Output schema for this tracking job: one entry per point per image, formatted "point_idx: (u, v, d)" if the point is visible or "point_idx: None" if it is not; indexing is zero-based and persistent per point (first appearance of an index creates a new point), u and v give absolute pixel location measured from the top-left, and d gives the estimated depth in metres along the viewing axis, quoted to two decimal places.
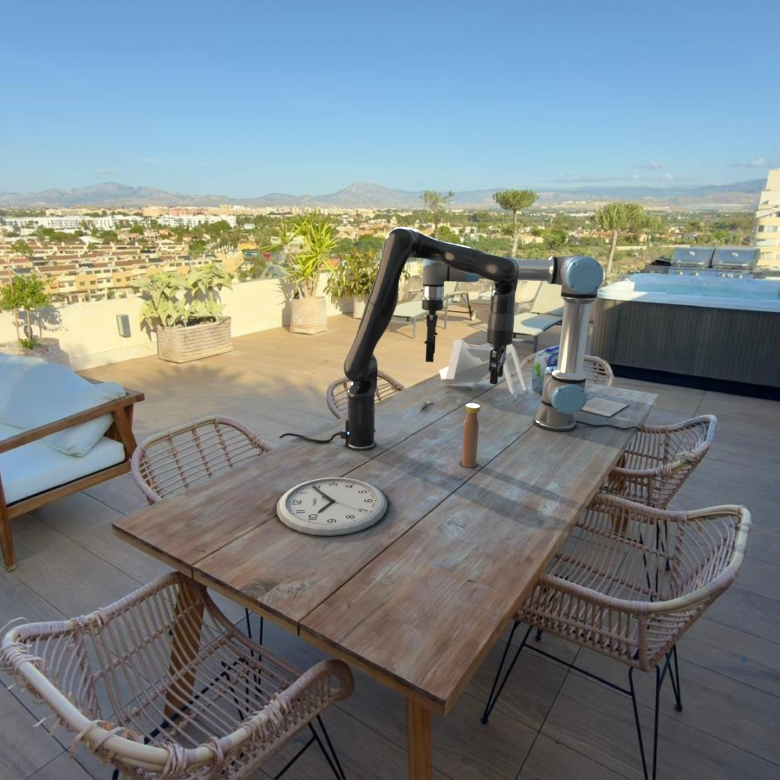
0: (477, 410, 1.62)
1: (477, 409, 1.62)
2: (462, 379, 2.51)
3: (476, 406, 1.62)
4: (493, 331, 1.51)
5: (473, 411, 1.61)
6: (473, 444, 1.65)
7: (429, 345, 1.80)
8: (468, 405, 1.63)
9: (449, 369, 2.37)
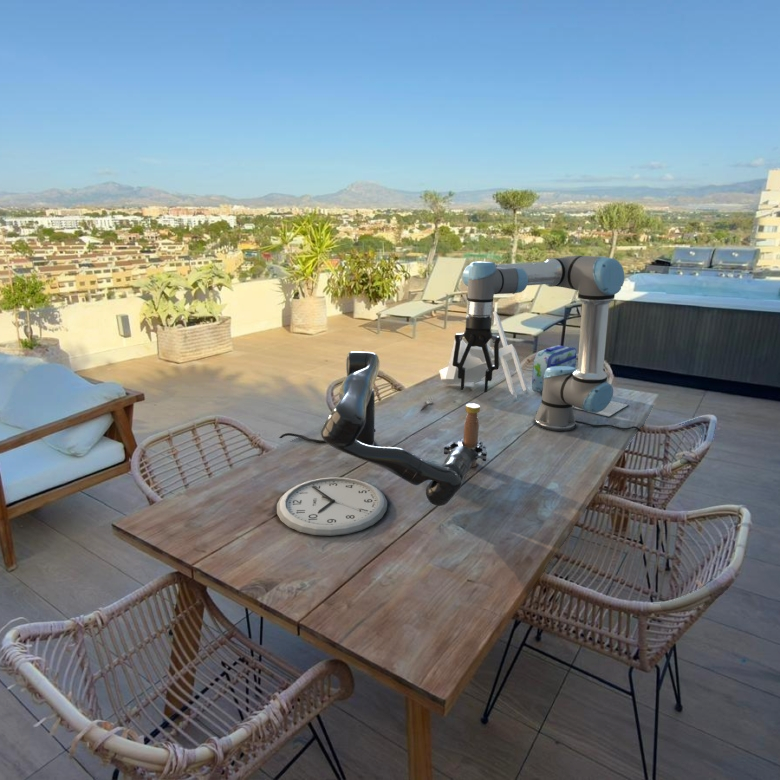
0: (477, 410, 1.62)
1: (477, 409, 1.62)
2: None
3: (476, 406, 1.62)
4: None
5: (473, 411, 1.61)
6: (473, 444, 1.65)
7: None
8: (468, 405, 1.63)
9: (449, 369, 2.37)
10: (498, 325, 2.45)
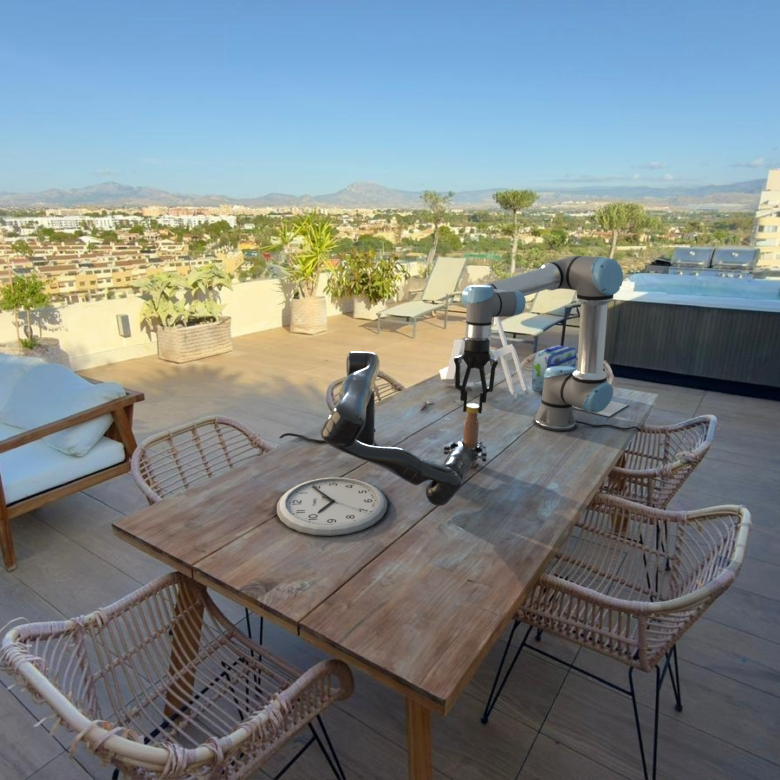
0: (477, 410, 1.62)
1: (477, 409, 1.62)
2: (462, 379, 2.51)
3: (476, 406, 1.62)
4: None
5: (473, 411, 1.61)
6: (473, 444, 1.65)
7: (461, 391, 1.63)
8: (468, 405, 1.63)
9: (449, 369, 2.37)
10: (498, 325, 2.45)
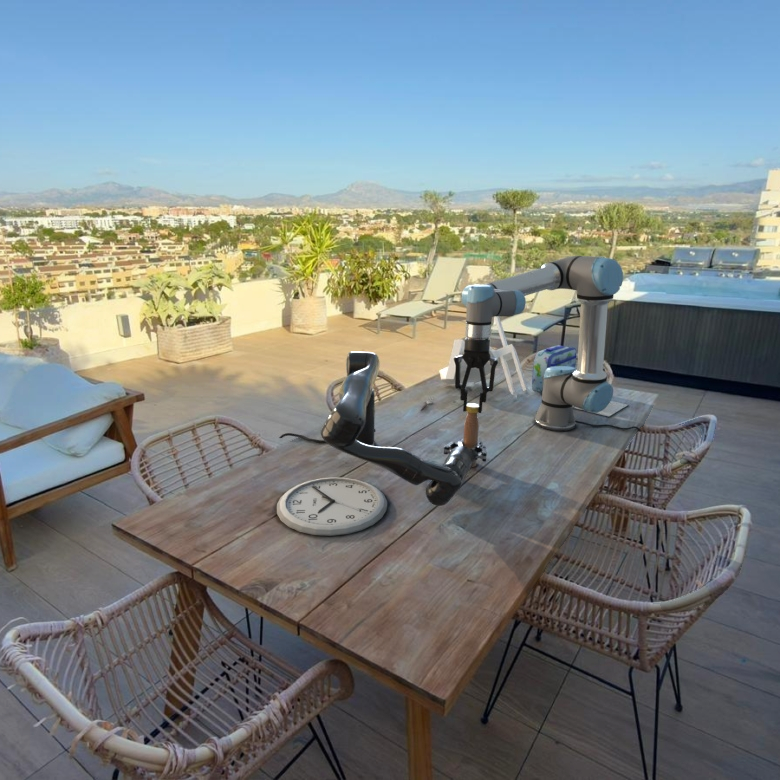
0: None
1: None
2: (462, 379, 2.51)
3: (474, 404, 1.64)
4: None
5: None
6: (473, 444, 1.65)
7: (461, 390, 1.63)
8: (474, 406, 1.62)
9: (449, 369, 2.37)
10: (498, 325, 2.45)
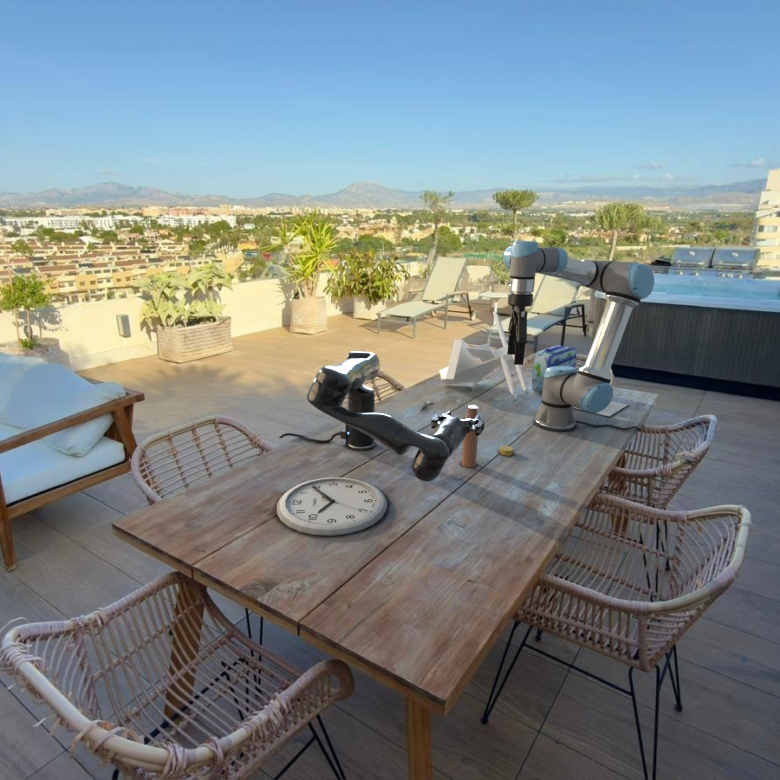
0: (512, 451, 1.78)
1: (512, 450, 1.78)
2: (462, 379, 2.51)
3: (510, 448, 1.78)
4: None
5: (511, 453, 1.76)
6: (473, 444, 1.65)
7: (520, 346, 1.58)
8: (504, 449, 1.77)
9: (449, 369, 2.37)
10: (498, 325, 2.45)
